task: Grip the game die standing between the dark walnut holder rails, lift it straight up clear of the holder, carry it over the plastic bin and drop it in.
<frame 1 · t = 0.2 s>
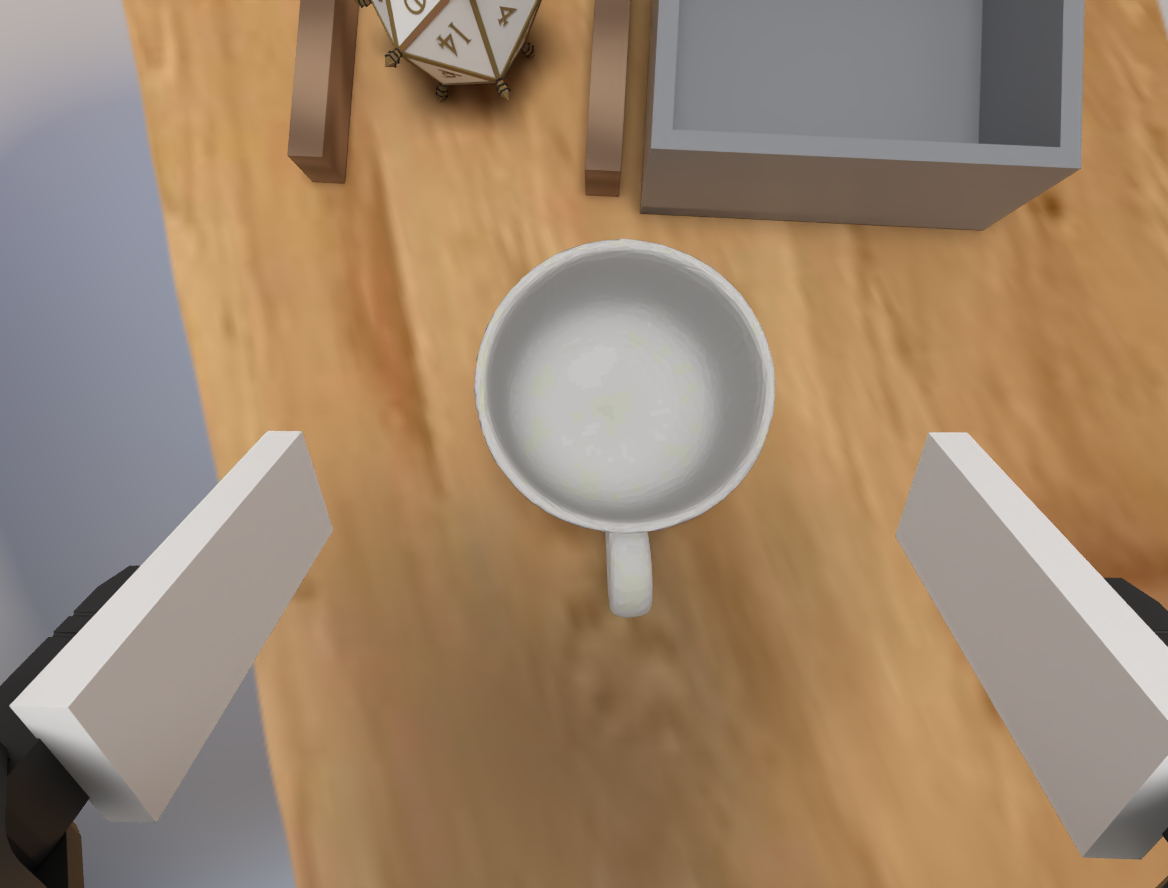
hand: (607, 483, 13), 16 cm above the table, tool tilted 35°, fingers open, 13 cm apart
holder: (474, 52, 31), on the table
teacup: (612, 440, 30), on the table
game die: (475, 55, 31), on the table
bin: (816, 66, 30), on the table
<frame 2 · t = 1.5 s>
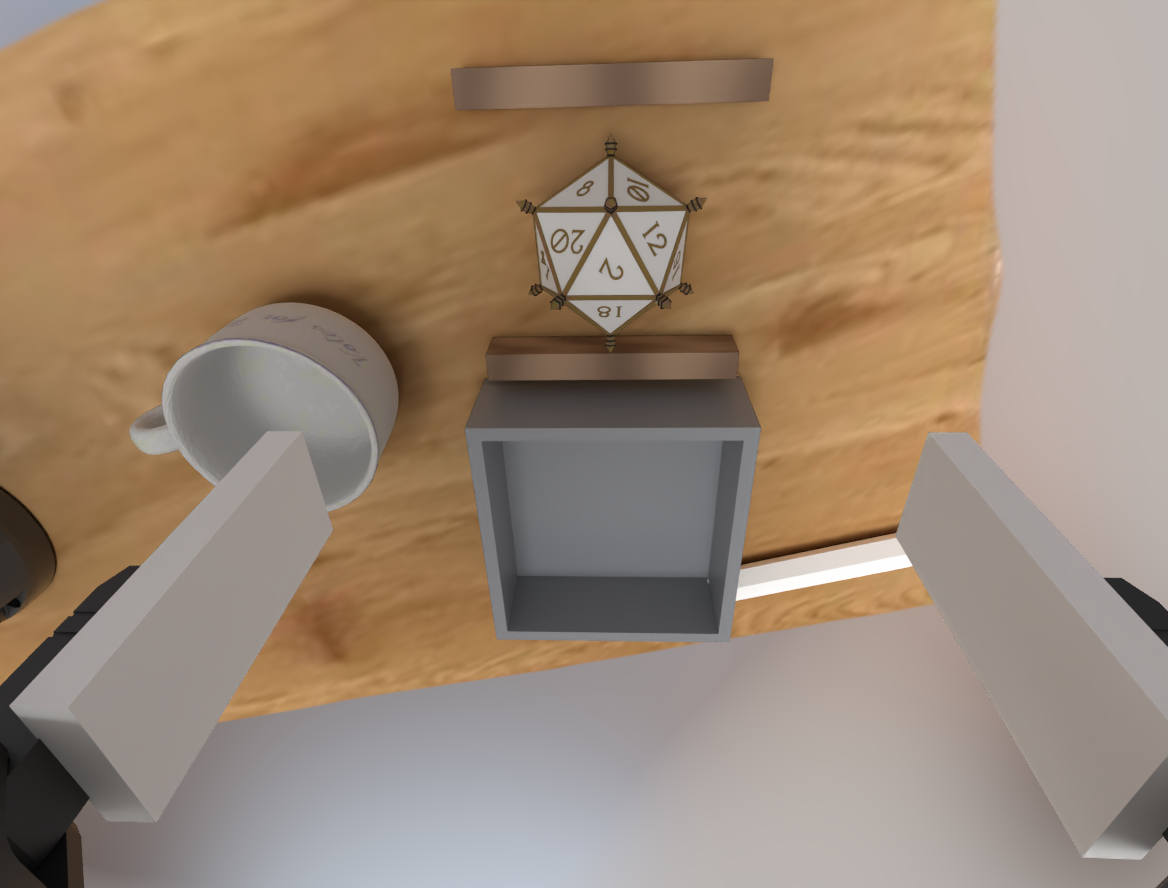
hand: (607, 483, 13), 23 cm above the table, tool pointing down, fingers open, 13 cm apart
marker: (788, 559, 44), touching bin
holder: (610, 230, 33), on the table
teacup: (305, 368, 38), on the table
game die: (610, 229, 33), on the table
bin: (611, 487, 42), on the table
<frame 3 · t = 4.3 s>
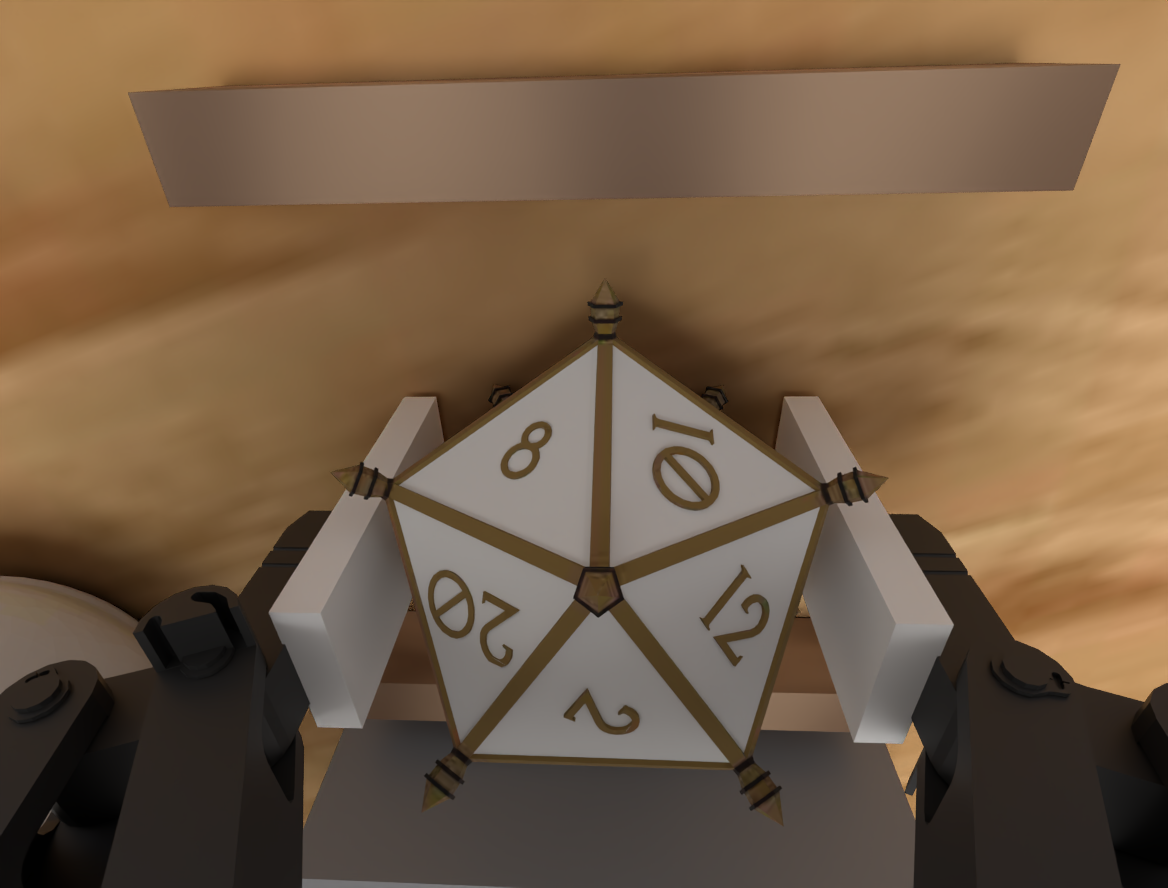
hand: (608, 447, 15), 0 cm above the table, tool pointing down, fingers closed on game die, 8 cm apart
holder: (607, 441, 15), on the table
teacup: (35, 640, 20), on the table
game die: (607, 436, 15), on the table, touching gripper
bin: (610, 811, 24), on the table
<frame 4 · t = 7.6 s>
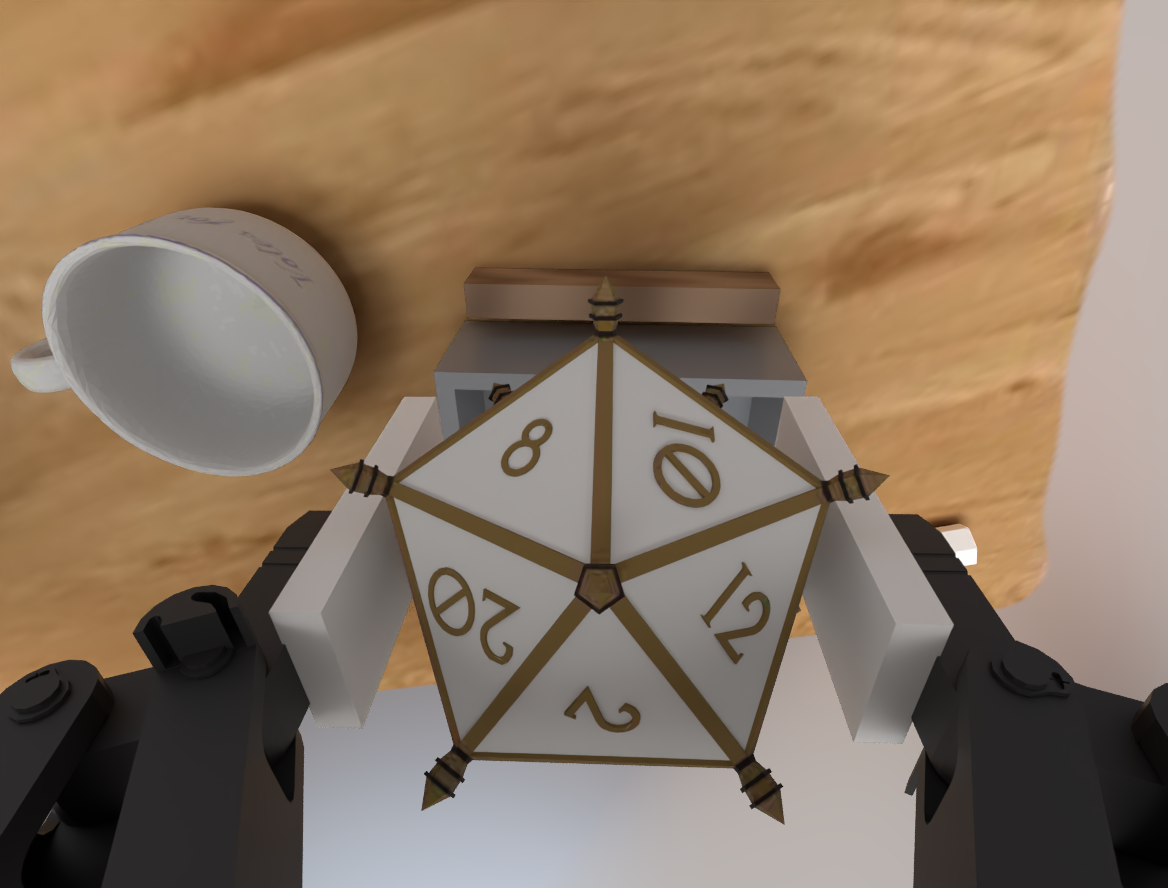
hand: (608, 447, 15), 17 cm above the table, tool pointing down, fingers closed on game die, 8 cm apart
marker: (818, 553, 38), touching bin
holder: (624, 129, 26), on the table
teacup: (248, 301, 31), on the table
game die: (607, 435, 15), point 16 cm above the table, touching gripper
bin: (614, 461, 35), on the table
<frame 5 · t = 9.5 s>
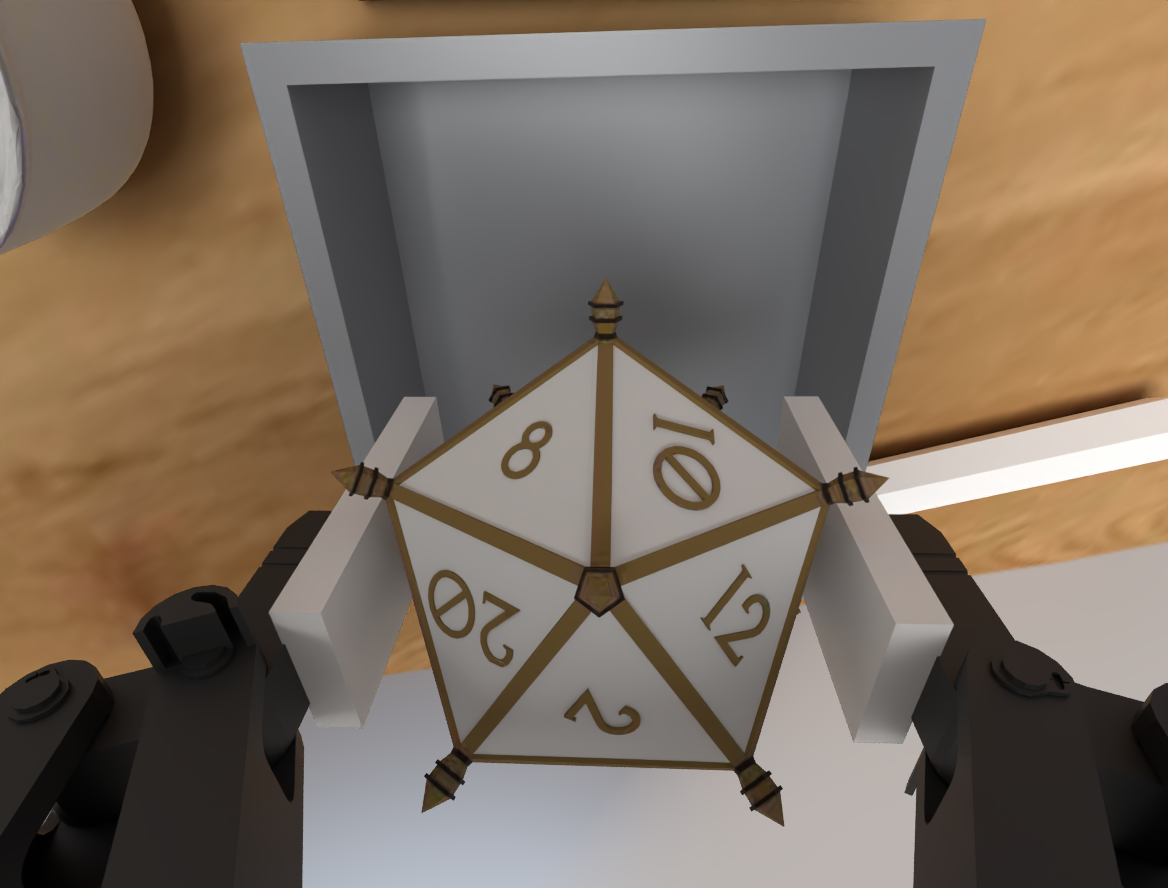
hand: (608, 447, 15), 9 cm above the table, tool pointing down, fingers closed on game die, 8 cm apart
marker: (921, 458, 25), touching bin
game die: (607, 436, 15), point 9 cm above the table, touching gripper
bin: (607, 312, 22), on the table
when the fingers open (7 cm above the table, at t = 10.6 s): game die drops 5 cm, resting on bin.
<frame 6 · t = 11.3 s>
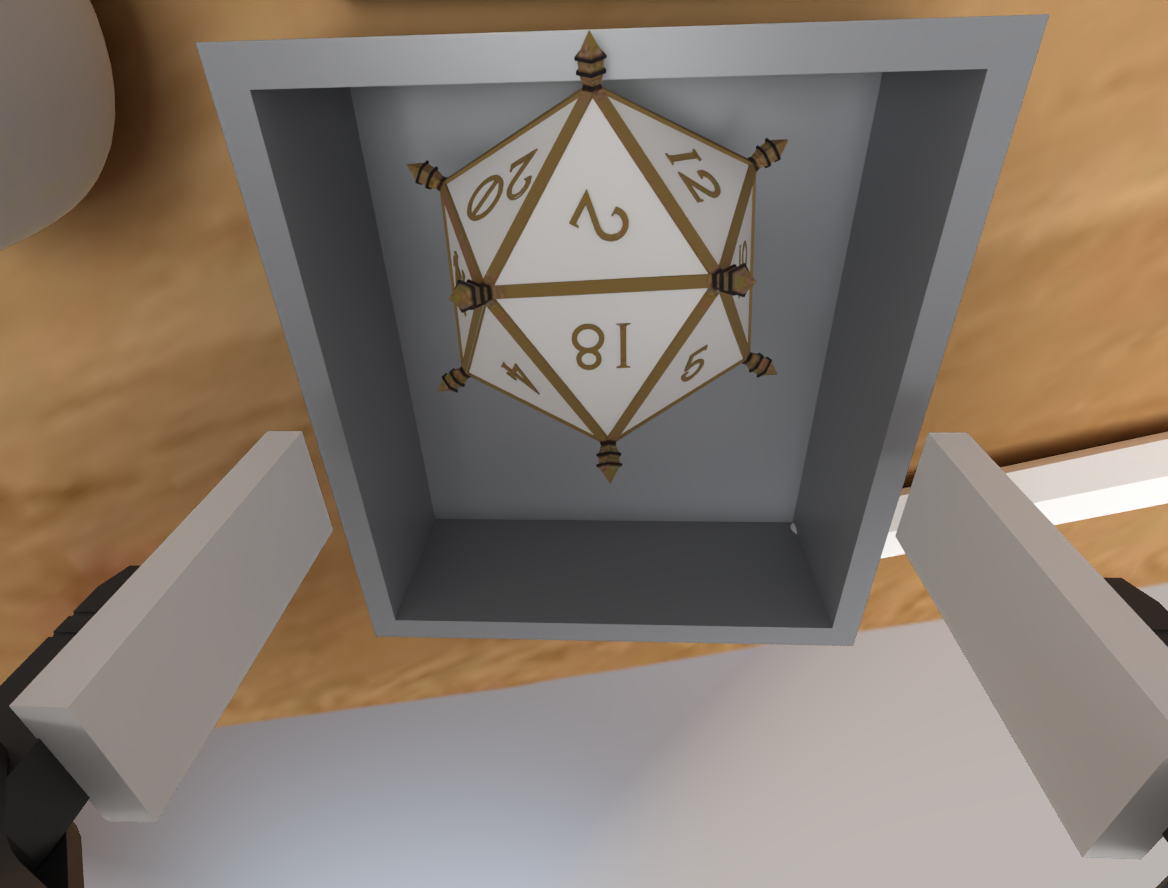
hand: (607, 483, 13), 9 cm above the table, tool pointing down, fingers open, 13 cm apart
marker: (946, 487, 23), touching bin
game die: (603, 316, 19), point 2 cm above the table, touching bin
bin: (610, 332, 21), on the table
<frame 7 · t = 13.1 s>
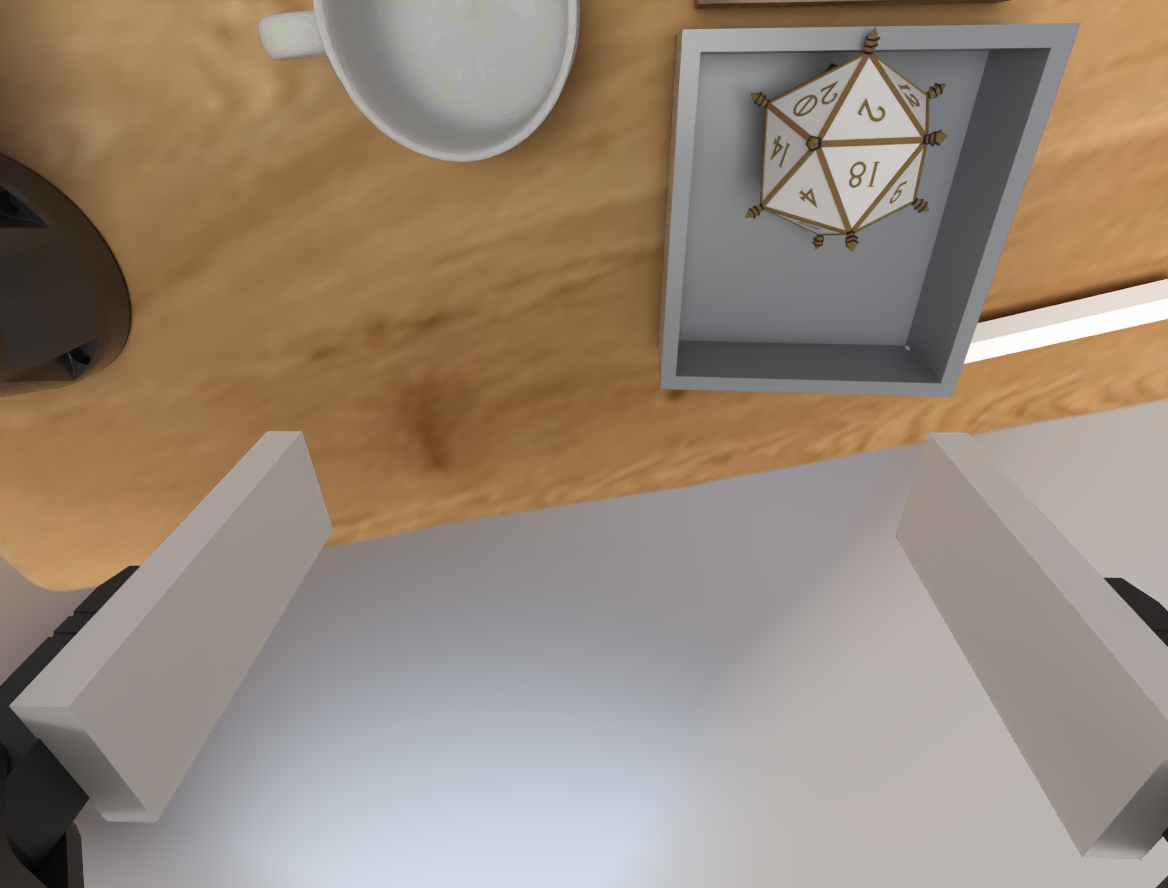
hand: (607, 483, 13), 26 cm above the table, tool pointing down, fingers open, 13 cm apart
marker: (1006, 325, 37), touching bin
teacup: (455, 22, 31), on the table
game die: (813, 194, 32), point 2 cm above the table, touching bin
bin: (806, 211, 34), on the table
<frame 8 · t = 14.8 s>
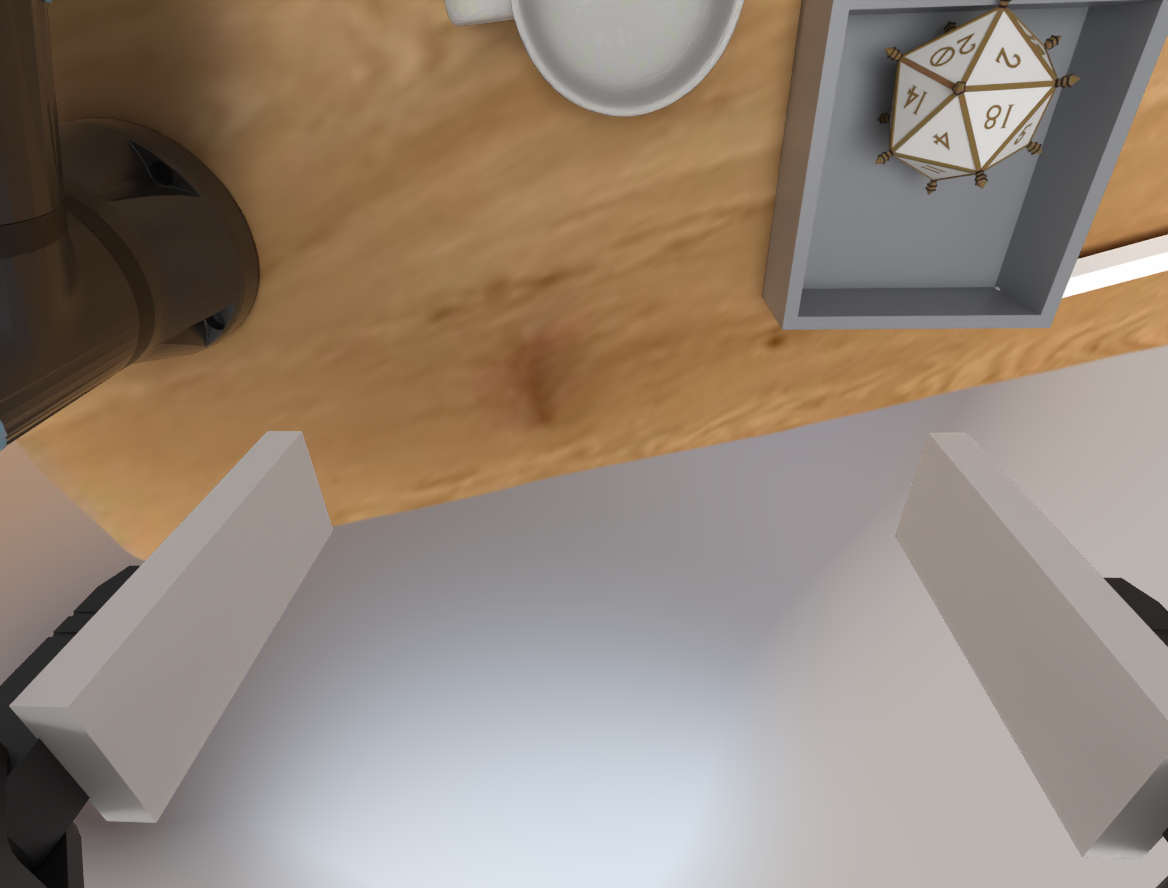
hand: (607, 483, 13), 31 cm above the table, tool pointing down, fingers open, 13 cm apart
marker: (1086, 265, 40), touching bin
game die: (923, 144, 35), point 2 cm above the table, touching bin
bin: (909, 163, 37), on the table
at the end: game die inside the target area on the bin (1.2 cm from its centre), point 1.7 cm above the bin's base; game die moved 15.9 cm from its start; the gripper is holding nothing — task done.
